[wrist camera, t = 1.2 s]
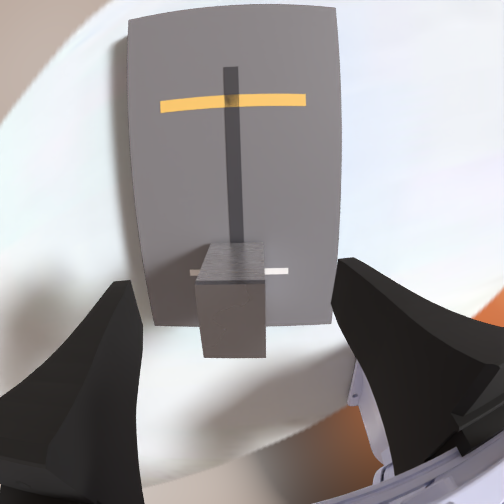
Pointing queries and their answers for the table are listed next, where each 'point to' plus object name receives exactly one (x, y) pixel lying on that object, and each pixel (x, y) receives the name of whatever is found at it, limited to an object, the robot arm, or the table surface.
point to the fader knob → (232, 301)
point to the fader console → (237, 151)
